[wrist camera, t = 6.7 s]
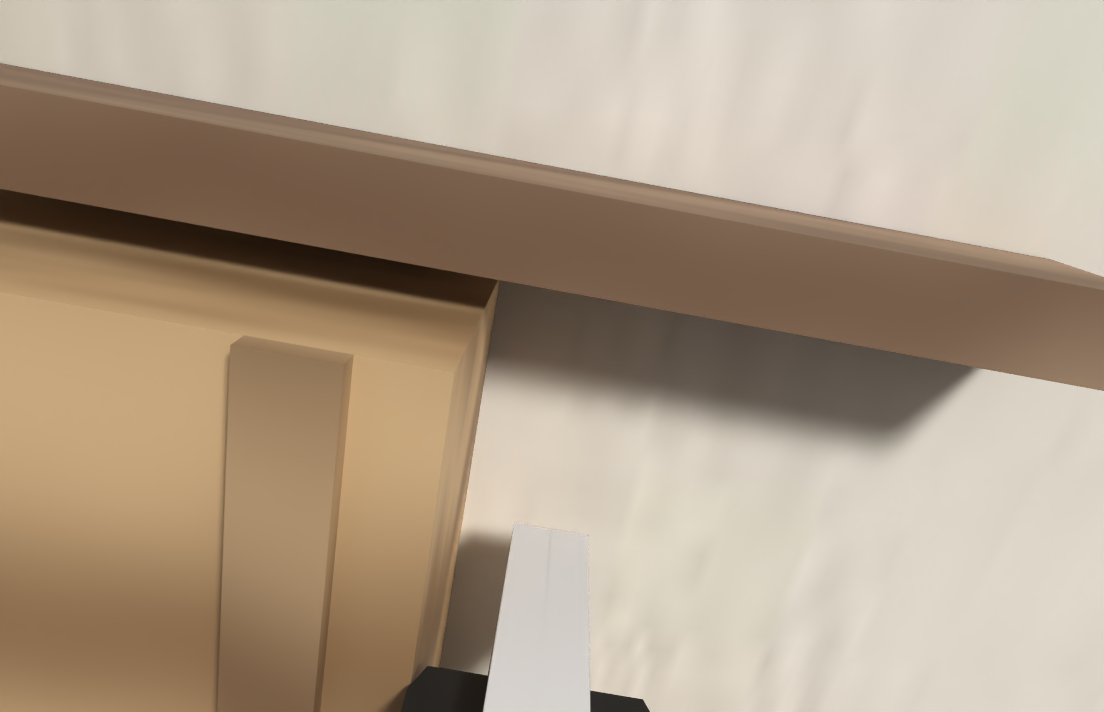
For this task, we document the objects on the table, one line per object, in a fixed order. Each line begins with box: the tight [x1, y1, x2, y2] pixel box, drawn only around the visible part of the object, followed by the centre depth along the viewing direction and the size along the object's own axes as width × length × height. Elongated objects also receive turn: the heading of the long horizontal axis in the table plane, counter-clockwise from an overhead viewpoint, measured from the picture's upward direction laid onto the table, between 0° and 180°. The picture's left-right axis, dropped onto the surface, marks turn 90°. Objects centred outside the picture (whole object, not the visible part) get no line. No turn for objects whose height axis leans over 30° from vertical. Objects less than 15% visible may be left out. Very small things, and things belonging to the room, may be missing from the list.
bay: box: [0, 63, 1104, 391], centre depth 13 cm, size 20×31×7 cm, turn 80°
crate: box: [0, 189, 500, 712], centre depth 14 cm, size 10×10×6 cm
